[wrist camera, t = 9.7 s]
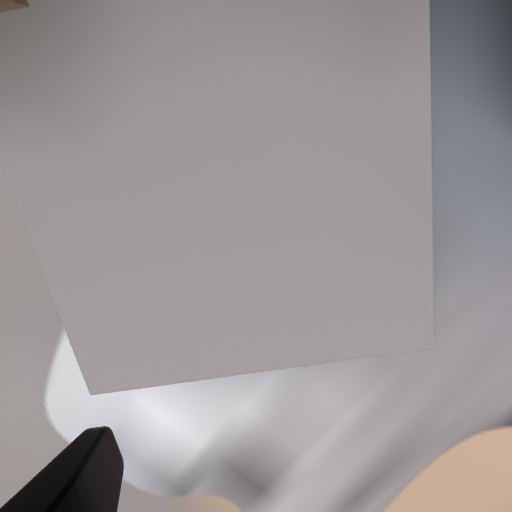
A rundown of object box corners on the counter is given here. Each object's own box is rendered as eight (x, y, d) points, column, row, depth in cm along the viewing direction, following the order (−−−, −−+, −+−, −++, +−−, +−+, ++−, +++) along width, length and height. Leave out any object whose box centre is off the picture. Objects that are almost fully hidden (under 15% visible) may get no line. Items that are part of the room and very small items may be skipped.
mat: (422, -76, 15) (428, -82, 14) (429, 341, 22) (434, 348, 21) (-47, 17, 16) (-58, 16, 16) (94, 387, 23) (90, 395, 22)
